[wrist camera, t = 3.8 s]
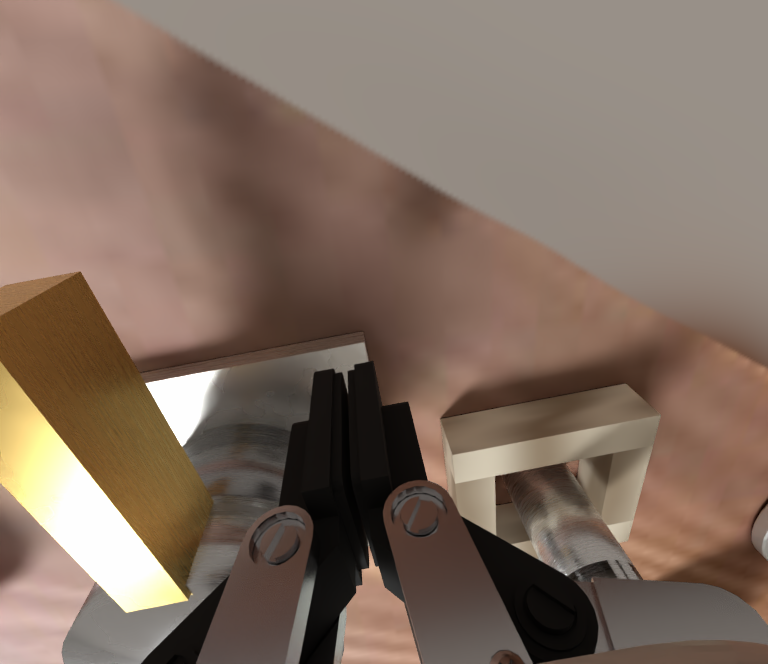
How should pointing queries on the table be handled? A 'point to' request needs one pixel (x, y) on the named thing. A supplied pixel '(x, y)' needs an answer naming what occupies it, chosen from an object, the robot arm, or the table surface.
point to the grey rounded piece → (566, 525)
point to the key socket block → (552, 455)
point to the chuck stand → (247, 409)
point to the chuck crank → (107, 473)
